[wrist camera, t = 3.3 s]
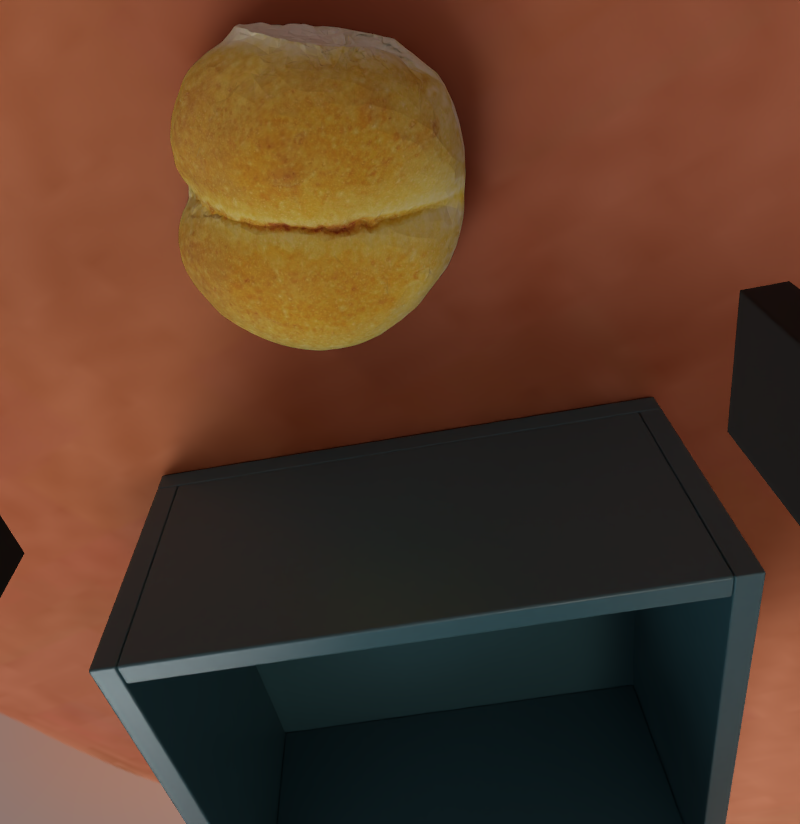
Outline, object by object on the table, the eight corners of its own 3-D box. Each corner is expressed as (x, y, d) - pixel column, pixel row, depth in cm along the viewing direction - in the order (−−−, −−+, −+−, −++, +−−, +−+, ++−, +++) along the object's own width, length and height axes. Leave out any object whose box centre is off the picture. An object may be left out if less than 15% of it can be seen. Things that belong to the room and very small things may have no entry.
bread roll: (194, 316, 24) (166, 377, 20) (173, 8, 19) (132, 22, 16) (441, 332, 24) (453, 394, 21) (482, 39, 20) (506, 59, 16)
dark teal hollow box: (162, 475, 27) (87, 672, 20) (653, 396, 26) (766, 572, 19) (275, 729, 36) (252, 928, 29) (644, 677, 35) (718, 871, 28)
